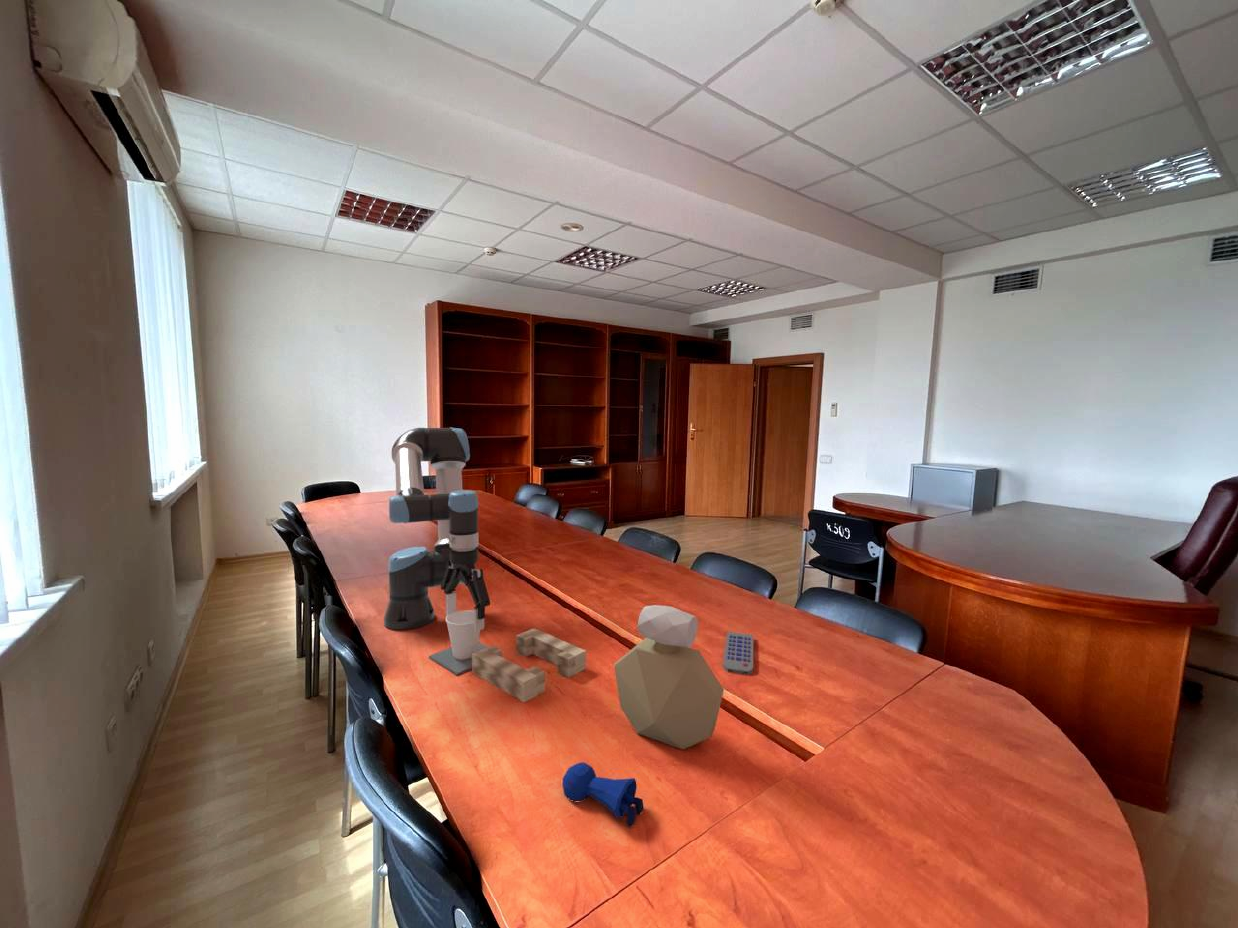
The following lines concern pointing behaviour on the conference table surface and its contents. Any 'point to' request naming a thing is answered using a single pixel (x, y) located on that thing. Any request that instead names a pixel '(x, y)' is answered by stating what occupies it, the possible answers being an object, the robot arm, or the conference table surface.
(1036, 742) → the conference table surface
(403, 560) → the robot arm
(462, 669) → the coaster
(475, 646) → the cup
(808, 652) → the conference table surface
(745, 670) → the remote control
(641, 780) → the conference table surface
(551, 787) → the conference table surface
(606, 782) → the toy
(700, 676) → the perfume bottle
